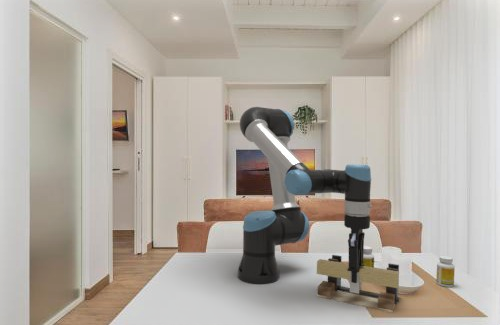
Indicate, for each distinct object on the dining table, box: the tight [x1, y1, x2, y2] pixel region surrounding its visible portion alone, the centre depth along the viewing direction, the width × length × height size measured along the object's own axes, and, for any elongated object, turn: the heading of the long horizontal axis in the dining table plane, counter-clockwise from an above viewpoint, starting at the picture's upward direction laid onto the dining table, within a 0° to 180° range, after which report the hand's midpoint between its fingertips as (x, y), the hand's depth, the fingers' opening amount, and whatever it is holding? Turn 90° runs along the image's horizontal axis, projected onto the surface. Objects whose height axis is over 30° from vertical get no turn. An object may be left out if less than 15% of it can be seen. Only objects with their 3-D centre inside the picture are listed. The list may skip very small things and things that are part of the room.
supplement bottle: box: [435, 255, 455, 288], centre depth 120 cm, size 5×5×10 cm
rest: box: [316, 280, 396, 313], centre depth 105 cm, size 22×7×3 cm, turn 62°
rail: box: [316, 258, 400, 289], centre depth 105 cm, size 24×3×4 cm, turn 62°
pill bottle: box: [362, 245, 375, 268], centre depth 126 cm, size 6×6×11 cm
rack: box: [327, 254, 400, 305], centre depth 110 cm, size 22×6×10 cm, turn 62°
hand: (355, 290), depth 105 cm, fingers closed on rail, 3 cm apart
